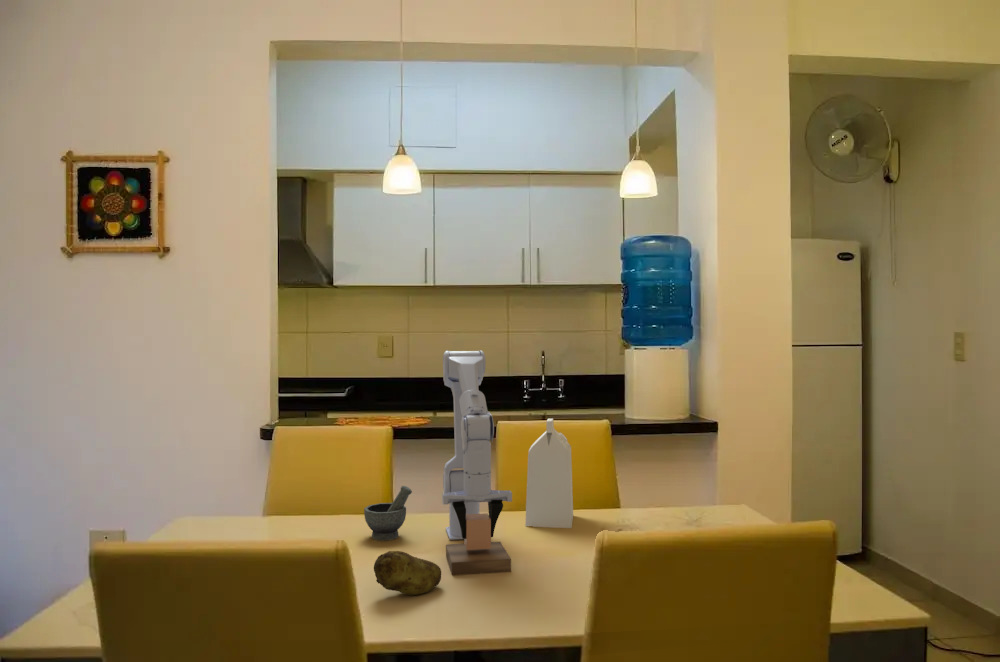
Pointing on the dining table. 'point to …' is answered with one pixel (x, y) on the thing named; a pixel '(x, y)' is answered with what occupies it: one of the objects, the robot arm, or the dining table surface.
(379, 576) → the potato
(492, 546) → the walnut base slab
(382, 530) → the mortar and pestle
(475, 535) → the terracotta block
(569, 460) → the milk
